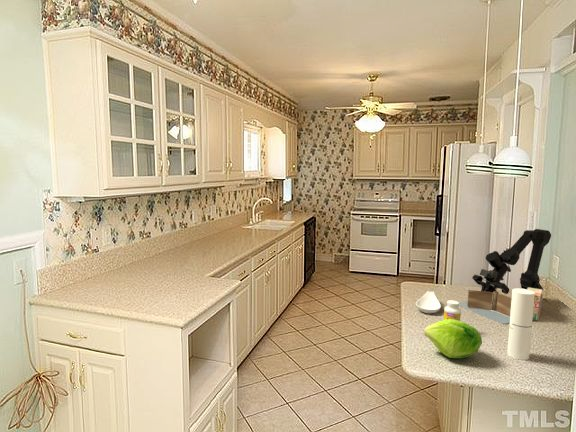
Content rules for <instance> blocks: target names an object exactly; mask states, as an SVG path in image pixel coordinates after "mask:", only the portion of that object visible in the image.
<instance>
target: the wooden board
mask: <svg viewBox="0 0 576 432" xmlns="http://www.w3.org/2000/svg"><path fill="white" fill-rule="evenodd" d="M467 291H468V292H467V302H468V303H467V307H473V308H483V309H492V301H493V293H492V292H485V291H481V290H472V289H468V290H467Z"/></svg>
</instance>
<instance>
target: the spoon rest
mask: <svg viewBox="0 0 576 432" xmlns="http://www.w3.org/2000/svg"><path fill="white" fill-rule="evenodd" d="M441 305H442V304H441V303H440V300H439V299H438V298H437V296H436V294H435V291H429V290H427V291H426V292H424V294H423V295H422V296H421V297H420V298H418V300H417V301H416V302H415V306H416V308H417V309H418V310H419V311H420V312H422V313H424V314H429V315H431V314H436V313H439V311H440V310H441V308H442V306H441Z"/></svg>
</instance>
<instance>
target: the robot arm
mask: <svg viewBox="0 0 576 432" xmlns="http://www.w3.org/2000/svg"><path fill="white" fill-rule="evenodd" d="M551 238H552V233H551V232H550V230H547V229H541V228H535V229H534V230H533V229H532V230H531V229H530V230H528V229H527V230H524V231H523V234H522V235H520V237H519V238H518V239H517V240H516V242H515V243H514V244H513V245H512V246H511V247H510V248H507V249H505V250H504V251H502V253H499V252H498V251H496V250H494V251H492V252H490V253H488V254H486V255H485V260H486V261H487V263H488V264H489V265H490V266H491V268H492V270H491V269H490V270H487V269H484V268H481V270H480V272H479V274H473V276H472V277H471V278H472V280H474V282H475V283H476V284H477V285H479V286H481V290H480V291H485V292H492V293H493V291H498V289H500V290H501V294H505V295H508V294H509V293H510V288H509V287H508V285H507V284H506V283H504V282H501V281H504V276H505V275H506V274H507V272H508V273H512V272H511V271H512V269H511V266H515V265H517V263H518V262H519V260H520V258H521V257H520V255H521V253H523V251H524V250H525V249H526V248H527V246H528V245H530V243H531V242H532V243H531V244H532V248H531V252H530V256H529V261H528V264H527V268H526V271H525V272H521V274H520V278H519V284H520V289H527V288H528V287H529V288H535V289H542V291H543V290H544V288H543V286H542V285H541V283H540V279H541V278H540V276H539V269H540V265H541V261H542V257H543V253H544V249H545V247H546V246H547V245H548V244H549V243H550V240H551ZM509 265H511V266H509ZM482 276H483V277H482Z"/></svg>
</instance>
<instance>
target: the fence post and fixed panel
mask: <svg viewBox="0 0 576 432" xmlns="http://www.w3.org/2000/svg"><path fill="white" fill-rule="evenodd" d="M511 300H512V297H510V296H508V295H504V294H503V293H499V291H498V290H496V291H493V297H492V310H493V311H496V312H499V313H501V314H504V315H506V316H509V317H510V313H511Z"/></svg>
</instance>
